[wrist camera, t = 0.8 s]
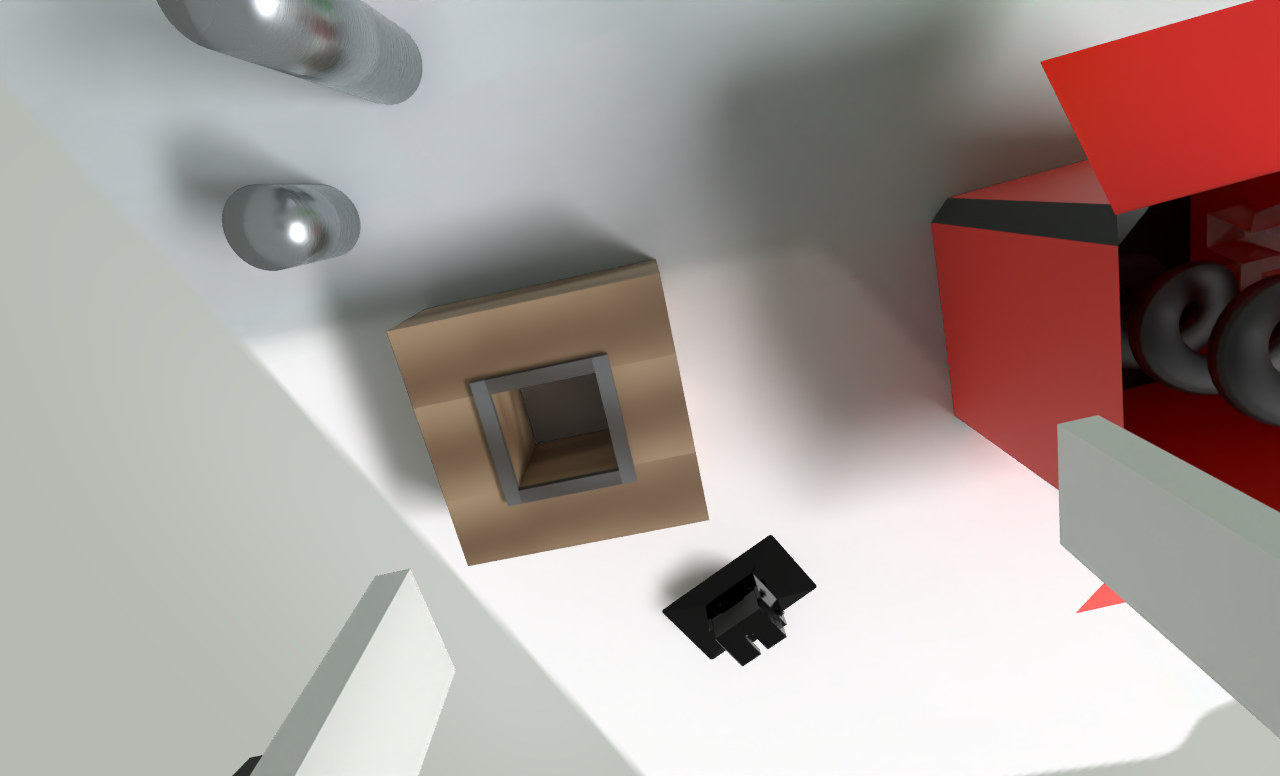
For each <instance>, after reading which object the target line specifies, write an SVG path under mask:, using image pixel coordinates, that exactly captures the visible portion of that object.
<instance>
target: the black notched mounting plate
mask: <svg viewBox="0 0 1280 776" xmlns="http://www.w3.org/2000/svg"><path fill="white" fill-rule="evenodd" d="M815 588H816V584H815V583H814V582H813V581H812V580H811V579H810V578H809V576H808V575H807V574H806V573H805V572H804V571H803V570H802V569H801V567H800V566H799V565H798V564H797V563H796V562H795V561H794V559H793V558H792V557H791V556H790V555H789V554H788V553H787V552H786V550H785V549H784V548H783V547H782V546H781V545H780V544H779V543H778V541H777V540H776V539H775V538H774V537H773V536H772V535H769V536H767V537H766V538H765V539H763V540H762V541H760V542H759V543H757V544H756V545H755V546H753V547H752V548H750V549H749V550H747V551H746V552H745V553H743V554H742V555H740V556H739V557H738V558H736V559H735V560H733V561H732V562H730V563H729V564H728V565H726V566H725V567H723V568H722V569H720V570H719V571H718V572H716V573H715V574H713V575H712V576H710V577H709V578H708V579H706V580H705V581H703V582H702V583H700V584H699V585H698V586H696V587H695V588H693V589H692V590H690V591H689V592H688V593H686V594H685V595H683V596H682V597H680V598H679V599H678V600H676V601H675V602H673V603H672V604H671V605H669V606H668V607H666V608H665V609H663V611H662V612H663V613H664V614H665V615H666V616H667V617H668V618H669V619H670V620H671V621H672V622H673V623H674V624H675V625H676V626H677V627H678V628H679V629H680V630H681V631H682V632H683V633H684V634H685V635H686V636H687V637H688V638H689V639H690V640H691V641H692V642H693V643H694V644H695V645H696V646H697V647H698V648H699V649H701V650H702V651H703V652H704V653H705V654H706V655H707V656H708V657H709V658H710V659H714V658H716V657H717V656H718V655H720V654H721V653H723V652H724V651H727V652H728V653H729V654H730V655H731V656H732V657H733V658H734V659H735V660H736V661H737V662H738V663H739V664H740V665H741V666H744V665H746V664H747V663H749V662H750V661H752V660H753V659H755V658H756V657H758V656H759V655H761V653H760V649H759V648H758V647H757V646H756V645H755V644H754V643H753V642H754V641H756V640H757V639H758V640H759V641H760V642H761V643H762V644H763V645H764V646H765V647H766V648H767V649H770V648H771V647H773V646H774V645H775V644H777V643H778V642H780V641H781V640H783V639H784V638H786V633H785V631H784V628H783V627H784V626H785V625H787V624H786V621H785V618H784V615H783V614H784V611H783V610H785V609H786V608H788V607H789V606H791V605H792V604H793V603H795V602H796V601H798V600H799V599H801V598H802V597H804V596H805V595H806V594H808V593H809V592H811V591H812V590H814V589H815Z"/></svg>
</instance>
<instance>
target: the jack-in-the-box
mask: <svg viewBox="0 0 1280 776" xmlns="http://www.w3.org/2000/svg"><path fill="white" fill-rule="evenodd" d="M1040 63H1041V65H1042V67H1043V69H1044V71H1045V73H1046V75H1047V77H1048V79H1049V81H1050V83H1051V85H1052V87H1053V89H1054V91H1055V93H1056V95H1057V97H1058V99H1059V101H1060V103H1061V105H1062V107H1063V109H1064V111H1065V113H1066V115H1067V117H1068V119H1069V122H1070V124H1071V126H1072V128H1073V130H1074V132H1075V134H1076V136H1077V138H1078V140H1079V142H1080V144H1081V146H1082V148H1083V150H1084V152H1085V154H1086V156H1087V158H1088V160H1084V161H1081V162H1077V163H1073V164H1070V165H1066V166H1062V167H1059V168H1055V169H1051V170H1048V171H1044V172H1041V173H1037V174H1033V175H1030V176H1026V177H1022V178H1019V179H1015V180H1011V181H1008V182H1004V183H1000V184H997V185H993V186H990V187H986V188H982V189H979V190H975V191H971V192H968V193H964V194H960V195H957V196H953V197H950V198H948V199H947V201H946V202H945V203H944V205H943V206H942V208H941V209H940V211H939V212H938V214H937V215H936V216H935V218H934V219H933V221H932V222H931V225H932V233H933V242H934V250H935V258H936V266H937V274H938V283H939V291H940V299H941V307H942V315H943V324H944V332H945V340H946V348H947V357H948V365H949V373H950V381H951V389H952V398H953V406H954V414H955V416H956V417H958V418H959V419H960V420H962V421H963V422H965V423H966V424H967V425H969V426H970V427H971V428H973V429H974V430H976V431H977V432H978V433H980V434H981V435H983V436H984V437H985V438H987V439H988V440H990V441H991V442H992V443H994V444H995V445H997V446H998V447H999V448H1001V449H1002V450H1003V451H1005V452H1006V453H1008V454H1009V455H1010V456H1012V457H1013V458H1015V459H1016V460H1017V461H1019V462H1020V463H1022V464H1023V465H1024V466H1026V467H1027V468H1029V469H1030V470H1031V471H1033V472H1034V473H1036V474H1037V475H1038V476H1040V477H1041V478H1042V479H1044V480H1045V481H1047V482H1048V483H1049V484H1051V485H1052V486H1054V487H1055V488H1056V489H1058V490H1059V474H1058V434H1057V424H1060V423H1065V422H1069V421H1074V420H1078V419H1083V418H1087V417H1092V416H1096V415H1099V416H1101V417H1103V418H1105V419H1107V420H1108V421H1110V422H1112V423H1114V424H1116V425H1118V426H1120V427H1121V428H1123V429H1125V430H1127V431H1129V432H1131V433H1133V434H1135V435H1136V436H1138V437H1140V438H1142V439H1144V440H1146V441H1148V442H1149V443H1151V444H1153V445H1155V446H1157V447H1159V448H1161V449H1162V450H1164V451H1166V452H1168V453H1170V454H1172V455H1174V456H1176V457H1177V458H1179V459H1181V460H1183V461H1185V462H1187V463H1189V464H1190V465H1192V466H1194V467H1196V468H1198V469H1200V470H1202V471H1203V472H1205V473H1207V474H1209V475H1211V476H1213V477H1215V478H1217V479H1218V480H1220V481H1222V482H1224V483H1226V484H1228V485H1230V486H1231V487H1233V488H1235V489H1237V490H1239V491H1241V492H1243V493H1244V494H1246V495H1248V496H1250V497H1252V498H1254V499H1256V500H1258V501H1259V502H1261V503H1263V504H1265V505H1267V506H1269V507H1271V508H1272V509H1274V510H1276V511H1278V512H1280V0H1254V1H1250V2H1247V3H1243V4H1240V5H1236V6H1233V7H1229V8H1226V9H1222V10H1219V11H1215V12H1212V13H1208V14H1205V15H1201V16H1198V17H1194V18H1191V19H1188V20H1184V21H1181V22H1177V23H1174V24H1170V25H1167V26H1163V27H1160V28H1156V29H1153V30H1149V31H1146V32H1142V33H1139V34H1135V35H1132V36H1128V37H1125V38H1121V39H1118V40H1115V41H1111V42H1108V43H1104V44H1101V45H1097V46H1094V47H1090V48H1087V49H1083V50H1080V51H1076V52H1073V53H1069V54H1066V55H1062V56H1059V57H1055V58H1052V59H1048V60H1045V61H1042V62H1040ZM1124 602H1125V601H1124V600H1123V599H1122V598H1121V597H1120V596H1118V595H1117V594H1116V593H1115V592H1114V591H1113V590H1112V589H1111V588H1109V587H1108V586H1107V585H1106V584H1105V583H1104V584H1103V585H1102V586H1101V587H1100V588H1099V589H1098V590H1097V591H1096V592H1095V593H1094V594H1093V595H1092V597H1091V598H1090V599H1089V600H1088V601H1087V602H1086V603H1085V604H1084V605H1083V606H1082V607H1081V608H1080V609H1079V610H1078V611H1077V612H1076V613H1079V612H1084V611H1088V610H1093V609H1097V608H1102V607H1106V606H1111V605H1115V604H1120V603H1124Z"/></svg>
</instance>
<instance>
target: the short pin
mask: <svg viewBox="0 0 1280 776" xmlns="http://www.w3.org/2000/svg"><path fill="white" fill-rule="evenodd" d="M222 223H223V230H224V233H225V236H226V239H227V241H228V243H229V245H230V246H231V248H232V249H233V250H234V252H235V253H236V254H237V255H238V256H239V257H240V258H241V259H243V260H244V261H245V262H247V263H248V264H250V265H252V266H254V267H256V268H259V269H263V270H269V271H277V270H283V269H287V268H291V267H295V266H300V265H304V264H308V263H312V262H316V261H321V260H325V259H329V258H333V257H337V256H341V255H343V254H345V253H347V252H348V251H350V250H351V249H352V248H353V247H354V245H355V244H356V242H357V240H358V238H359V234H360V219H359V215H358V212H357V210H356V208H355V206H354V204H353V203H352V202H351V200H350V199H349V198H348V197H347V196H346V195H345V194H344V193H342V192H341V191H339V190H337V189H336V188H333V187H331V186H327V185H263V184H259V185H248V186H245V187H242V188H240V189H238V190H237V191H236V192H234V193H233V194H232V195H231V196H230V198H229V199H228V200H227V202H226V204H225V207H224V210H223V215H222Z"/></svg>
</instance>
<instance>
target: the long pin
mask: <svg viewBox="0 0 1280 776" xmlns="http://www.w3.org/2000/svg"><path fill="white" fill-rule="evenodd" d="M157 2H158V4H159V6H160V8H161V9H162V11H163V13H164V14H165V15H166V17H167V18H168V20H169V21H170V22H171V23H172V24H173V25H174V26H175V28H176V29H177V30H179V31H180V32H181V33H182V34H183V35H184V36H186V37H187V38H189V39H190V40H191V41H193V42H195V43H197V44H199V45H201V46H203V47H206V48H208V49H212V50H215V51H218V52H221V53H224V54H227V55H230V56H233V57H236V58H240V59H243V60H246V61H249V62H252V63H255V64H258V65H261V66H264V67H268V68H271V69H274V70H277V71H280V72H283V73H286V74H289V75H292V76H296V77H299V78H302V79H305V80H308V81H311V82H314V83H317V84H320V85H324V86H327V87H330V88H333V89H336V90H339V91H342V92H345V93H348V94H352V95H355V96H358V97H361V98H364V99H367V100H370V101H373V102H377V103H380V104H386V105H392V104H398V103H401V102H403V101H405V100H406V99H408V98H409V97H410V96H411V95H413V93H414V92H415V91H416V89H417V87H418V86H419V83H420V80H421V76H422V60H421V55H420V52H419V49H418V47H417V45H416V43H415V42H414V40H413V39H412V38H411V36H410V35H409V34H408V33H407V32H406V31H405V30H403V29H402V28H401V27H399V26H398V25H396V24H395V23H393V22H392V21H390V20H389V19H388V18H386V17H385V16H383V15H382V14H380V13H379V12H377V11H376V10H374V9H373V8H371V7H370V6H368V5H367V4H365V3H364V2H362V1H361V0H157Z"/></svg>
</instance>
